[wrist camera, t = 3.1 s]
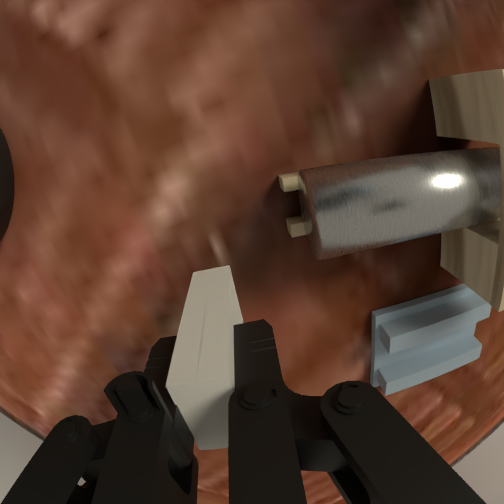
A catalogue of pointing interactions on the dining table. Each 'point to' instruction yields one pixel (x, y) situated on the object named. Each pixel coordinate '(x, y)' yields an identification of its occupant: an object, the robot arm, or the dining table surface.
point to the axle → (397, 198)
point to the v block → (425, 337)
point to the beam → (500, 132)
